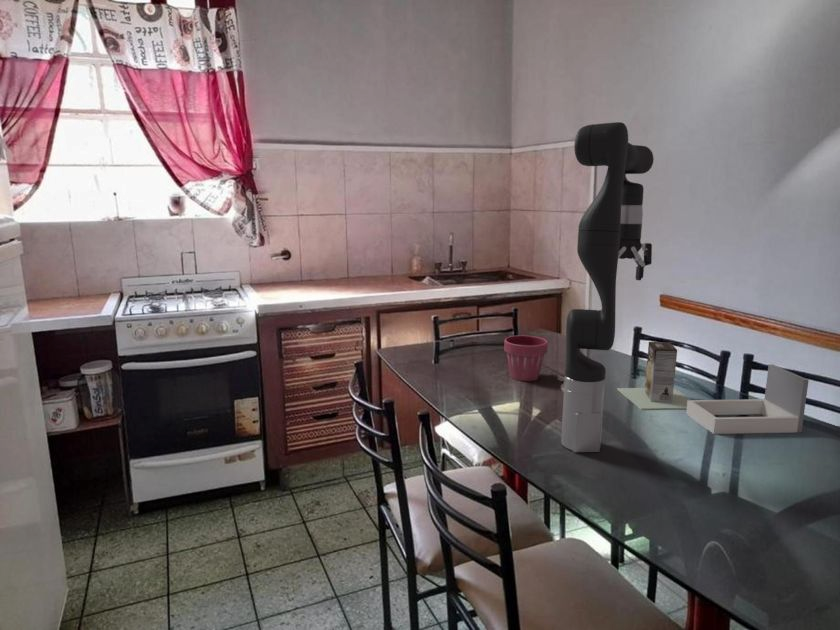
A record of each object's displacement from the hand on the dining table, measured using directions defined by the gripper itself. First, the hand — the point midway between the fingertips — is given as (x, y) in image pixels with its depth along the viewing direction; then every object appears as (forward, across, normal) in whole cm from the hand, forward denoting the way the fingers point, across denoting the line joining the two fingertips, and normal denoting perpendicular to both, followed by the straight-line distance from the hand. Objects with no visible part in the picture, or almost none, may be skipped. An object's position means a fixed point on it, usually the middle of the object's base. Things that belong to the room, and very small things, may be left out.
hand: (623, 280), depth 166 cm
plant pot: (+36, -21, +25) cm, 49 cm away
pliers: (+37, -8, +16) cm, 41 cm away
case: (+36, +27, -18) cm, 48 cm away
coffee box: (+36, +14, +2) cm, 38 cm away
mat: (+36, +14, +2) cm, 39 cm away
